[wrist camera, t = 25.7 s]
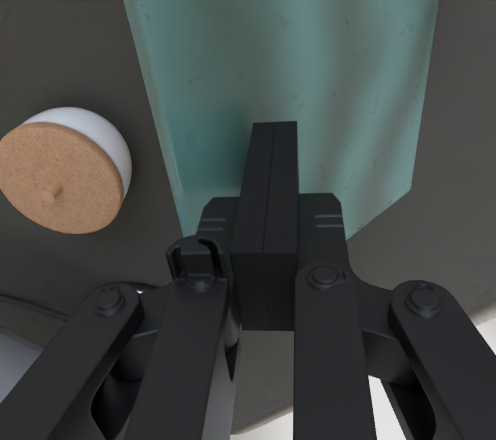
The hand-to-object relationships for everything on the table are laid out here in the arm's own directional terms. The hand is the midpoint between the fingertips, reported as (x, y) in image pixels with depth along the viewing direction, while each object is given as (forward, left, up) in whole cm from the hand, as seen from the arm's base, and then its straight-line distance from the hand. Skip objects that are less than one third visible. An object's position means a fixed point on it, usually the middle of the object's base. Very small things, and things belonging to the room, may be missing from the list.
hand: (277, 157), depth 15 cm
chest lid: (+2, 0, -4) cm, 4 cm away
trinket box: (-20, -10, -23) cm, 32 cm away
